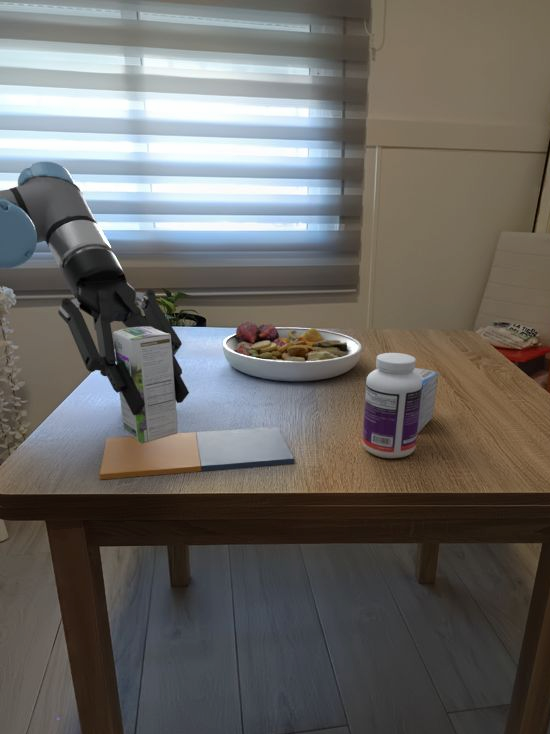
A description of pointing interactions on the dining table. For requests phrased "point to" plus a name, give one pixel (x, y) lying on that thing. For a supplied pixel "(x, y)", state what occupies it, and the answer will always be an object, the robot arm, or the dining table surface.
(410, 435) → the pill bottle
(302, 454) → the dining table surface
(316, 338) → the bowl
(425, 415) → the medicine box
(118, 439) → the sorting board
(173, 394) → the syrup box
